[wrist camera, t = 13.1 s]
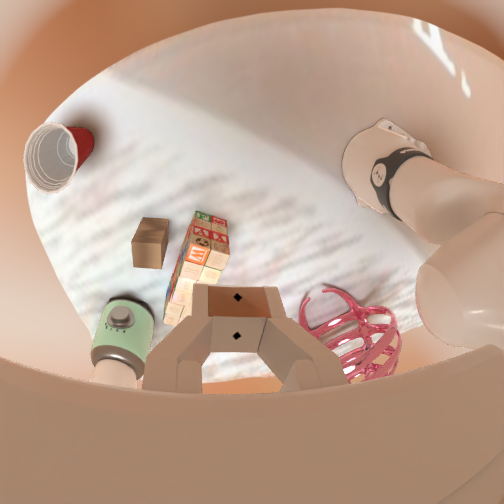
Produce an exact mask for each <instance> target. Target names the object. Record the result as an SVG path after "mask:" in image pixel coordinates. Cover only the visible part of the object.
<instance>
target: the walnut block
mask: <svg viewBox="0 0 504 504" xmlns="http://www.w3.org/2000/svg"><path fill="white" fill-rule="evenodd" d="M131 244H132V256H133V266H134V267H138V268H152V269H162V265H163V261H164V257H165V253H166V249H167V245H168V219H162V218H145V217H143V218H142V220H141V222H140V224H139V227H138V229H137V231H136V233H135V235H134V237H133V239H132V241H131Z"/></svg>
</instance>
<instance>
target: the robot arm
mask: <svg viewBox="0 0 504 504" xmlns="http://www.w3.org/2000/svg"><path fill="white" fill-rule="evenodd" d="M389 126H390V129H389V128H388V127H389ZM342 170H343V175H344V178H345V181H346V183H347V184H348V186H349V187H350V188H351V190H352V191H353V192H354V194H355V197H356V201H357V203H358V205H359V206H361V207H372V208H373V209H375V210H376V211H377V212H379V213H381V214H383V213H389V214H390V215H392V216H393V217H395V218H396V219H398V220H400V221H403V222H405V223H406V224H407V225H408V226H409V227H410V228H411V229H412V230H414V231H415V232H416V233H417V234H418V235H419V236H420V237H421V238H422V239H424V240H425V241H427V242H429V243H432V244H436V245H442V246H441V247H440V248H439V249H438V250H437V251H436V252H435V253H434V254H433V255H432V256H431V257H430V258H429V259H428V260H427V261H426V262H425V263H424V264H423V265H422V266H421V267H420V269H419V271H418V275H417V279H416V286H415V297H416V304H417V309H418V312H419V315H420V318H421V320H422V322H423V324H424V325H425V327H426V328H427V329H428V331H429V332H430V333H431V334H432V335H433V336H434V337H435V338H437V339H438V340H440V341H441V342H443V343H445V344H447V345H451V346H454V347H466V348H472V349H475V350H473V351H470V352H468V353H465V354H462V355H459V356H456V357H454V358H451V359H448V360H445V361H441V362H438V363H435V364H432V365H428V366H425V367H422V368H418V369H414V370H411V371H407V372H403V373H399V374H395V375H390V376H386V377H381V378H377V379H372V380H367V381H362V382H356V383H350V384H349V382H348V379H347V377H346V374H345V372H344V369H343V367H342V364H341V362H340V359H339V357H338V355H336V354H335V353H334V352H332V351H331V350H330V349H329V348H327V347H326V346H325V345H324V344H322V343H321V342H320V341H319V340H317V339H316V338H315V337H314V336H312V335H311V334H310V333H309V332H308V331H306V330H305V329H304V328H303V327H301V326H300V325H299V324H298V323H296V322H295V321H294V320H293V319H292V318H287V316H286V313H285V310H284V307H283V303H282V300H281V297H280V294H279V291H278V288H277V287H252V286H232V285H218V284H202V283H194V284H193V294H192V312H191V316H189V315H187V316H186V317H185V318H184V319H183V320H182V321H181V322H180V323H179V324H178V325H177V326H176V327H175V328H174V329H173V330H172V331H171V332H170V333H169V334H168V335H167V336H166V337H165V338H164V339H163V340H162V341H161V342H160V343H159V344H158V345H157V346H156V347H155V348H154V349H153V350H152V351H151V352H150V353H149V354H148V355H147V356H146V363H145V369H144V377H143V384H142V389H134V388H126V387H119V386H113V385H106V384H101V383H95V382H90V381H85V380H80V379H75V378H71V377H66V376H62V375H58V374H54V373H50V372H46V371H43V370H39V369H36V368H32V367H29V366H26V365H23V364H20V363H16V362H13V361H11V360H7V359H5V358H2V357H0V504H504V184H501V183H497V182H493V181H489V180H484V179H480V178H476V177H472V176H468V175H465V174H462V173H459V172H457V171H455V170H453V169H451V168H449V167H446V166H444V165H442V164H440V163H438V162H436V161H434V160H433V158H431V152H430V150H429V149H428V148H427V145H426V144H425V143H423V142H421V141H419V140H416V139H415V138H413V137H412V136H411V135H409V134H408V133H406V132H405V131H404V130H402V129H401V128H399V127H398V126H396V125H395V124H393V123H392V122H390V121H389V120H387V119H384V118H383V119H381V120H379V121H378V122H377V123H376V124H375V125H374V126H373V127H371V128H368V129H366V130H363V131H361V132H360V133H358V134H357V135H356V136H354V137H353V138H352V140H351V141H350V142H349V144H348V145H347V147H346V150H345V152H344V155H343V161H342ZM210 352H252V353H257V354H258V355H259V356H260V358H261V359H262V360H263V361H264V362H265V364H266V365H267V366H268V367H269V368H270V369H271V371H272V372H273V373H274V374H275V375H276V376H277V377H278V379H279V380H280V381H281V382H282V383H283V386H282V388H281V390H280V392H276V393H256V394H202V369H201V366H202V365H203V363H204V362H205V360H206V359H207V357H208V356H209V354H210Z"/></svg>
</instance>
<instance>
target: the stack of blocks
mask: <svg viewBox="0 0 504 504" xmlns="http://www.w3.org/2000/svg"><path fill="white" fill-rule="evenodd" d="M229 257H230V252H229V239H228V234H227V222H226V220H223V219H220V218H217V217H214V216H210V215H207V214H204V213H202V212H199V211H195V214H194V216H193V219H192V222H191V224H190V226H189V228H188V231H187V234H186V236H185V239H184V242H183V245H182V247H181V251H180V255H179V258H178V261H177V264H176V267H175V270H174V273H173V274H172V277H171V280H170V283H169V287H168V290H167V294H166V300H165V306H164V317H163V323H165V324H169V325H173V326H177V325H178V324H179V323H180V322H181V321H182V320H183V319H184V318H185V317H186V316H187V315H189V316H191V312H192V294H193V284H194V283H202V284H217V282H218V279H219V277H220V275H221V273H222V270H223V269H224V267H225V265H226V263H227V261H228V259H229Z"/></svg>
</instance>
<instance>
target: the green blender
mask: <svg viewBox="0 0 504 504" xmlns="http://www.w3.org/2000/svg"><path fill="white" fill-rule="evenodd" d="M153 328H154V320H153V316H152V314H151V313H150V311H149V310H148V309H147V304H146V303H145V302H140V303H138V302H136V301H134V300H130V299H123V298H119V299H115V298H111V299H110V301H109V303H108V304H107V305H106V306H105V307H104V310H103V313H102V316H101V319H100V322H99V325H98V328H97V331H96V334H95V337H94V341H93V344H92V348H91V359H92V363H93V365H94V367H95V369H94V371H93V373H92V375H91V377H90V379H89V381H90V382H95V383H101V384H106V385H113V386H119V387H126V388H134V389H137V384H136V383H137V382H136V380H138V379H140V378H141V377H142V376H143V374H144V369H145V363H146V356H147V355H148V354H149V352H150V345H151V339H152V333H153Z"/></svg>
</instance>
